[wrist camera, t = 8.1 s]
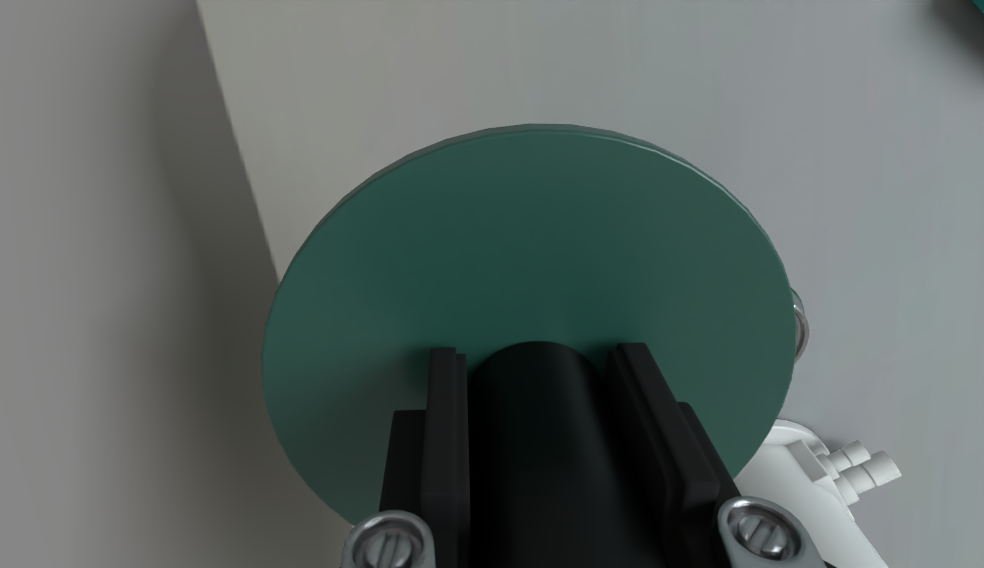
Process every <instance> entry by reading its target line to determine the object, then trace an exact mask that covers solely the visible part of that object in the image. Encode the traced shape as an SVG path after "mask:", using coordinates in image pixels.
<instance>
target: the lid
mask: <svg viewBox="0 0 984 568" xmlns="http://www.w3.org/2000/svg"><path fill="white" fill-rule="evenodd" d="M796 339H797V321H796V314H795V307H794V301H793V294H792V290H791V287H790V284H789V281H788V278H787V275H786V272H785V269H784V265H783V263H782V261H781V259H780V257H779V255H778V253H777V251H776V250H775V248H774V246H773V244H772V242H771V240H770V238H769V236H768V235H767V233H766V232H765V231H764V230H763V228H762V227H761V226H760V224H759V223H758V222H757V220H756V219H755V218H754V216H753V215H752V214H751V213H750V211H749V210H748V209H747V208H746V207H745V206H744V205H743V204H742V203H741V202H740V201H739V200H738V199H736V198H735V197H734V196H733V195H732V194H731V193H730V192H729V191H728V190H727V189H726V188H725V187H724V186H723V185H721V184H720V183H719V182H717V181H716V180H714V179H713V178H712V177H710V176H709V175H707V174H706V173H704V172H703V171H701V170H700V169H698V168H697V167H695V166H694V165H692V164H691V163H689V162H688V161H686V160H685V159H683V158H682V157H679V156H677V155H675V154H673V153H671V152H669V151H667V150H665V149H662V148H660V147H658V146H656V145H654V144H652V143H650V142H647V141H644V140H640V139H637V138H634V137H630V136H627V135H624V134H621V133H617V132H614V131H610V130H604V129H597V128H591V127H584V126H578V125H571V124H522V125H514V126H505V127H496V128H488V129H484V130H480V131H476V132H472V133H468V134H464V135H460V136H456V137H452V138H448V139H445V140H443V141H440V142H438V143H435V144H433V145H430V146H428V147H425V148H423V149H420V150H418V151H415V152H413V153H410V154H408V155H406V156H404V157H403V158H401V159H399V160H397V161H396V162H394V163H392V164H390V165H389V166H387V167H385V168H383V169H382V170H380V171H378V172H376V173H375V174H373V175H372V176H370V177H369V178H368V179H366V180H365V181H364V182H363V183H361V184H360V185H359V186H357V187H356V188H355V189H353V190H352V191H351V192H350V193H348V194H347V195H346V196H344V197H343V198H342V199H341V200H340V201H339V202H338V203H337V204H336V205H335V206H334V207H333V208H332V209H331V210H330V211H329V212H328V213H327V214H326V216H325V217H324V218H323V219H322V220H321V221H320V222H319V223H318V224H317V225H316V226H315V228H314V229H313V231H312V232H311V233H310V235H309V236H308V238H307V239H306V240H305V242H304V243H303V245H302V246H301V247H300V249H299V250H298V251H297V253H296V255H295V256H294V258H293V260H292V261H291V263H290V265H289V267H288V269H287V271H286V273H285V275H284V277H283V279H282V281H281V283H280V285H279V287H278V289H277V291H276V293H275V296H274V299H273V302H272V306H271V308H270V312H269V315H268V318H267V321H266V325H265V333H264V339H263V346H262V353H261V359H262V360H261V361H262V385H263V391H264V396H265V401H266V407H267V412H268V415H269V418H270V421H271V424H272V426H273V429H274V432H275V435H276V437H277V440H278V442H279V444H280V445H281V447H282V449H283V451H284V453H285V455H286V456H287V458H288V460H289V462H290V464H291V465H292V466H293V468H294V469H295V470H296V472H297V473H298V474H299V476H300V477H301V478H302V480H303V481H304V482H305V484H306V485H307V486H308V487H309V488H310V489H311V490H312V491H313V492H314V493H315V494H316V495H317V496H318V497H319V498H320V499H321V500H322V501H323V502H324V503H325V504H326V505H327V506H328V507H329V508H331V509H332V510H333V511H334V512H336V513H337V514H338V515H339V516H341V517H342V518H343V519H345V520H346V521H347V522H348V523H350V524H352V525H353V526H356V525H357V524H359V523H360V522H361V521H362V520H363V519H365V518H367V517H369V516H371V515H373V514H375V513H378V512H379V506H380V499H381V492H382V485H383V479H384V472H385V465H386V458H387V452H388V445H389V438H390V432H391V425H392V418H393V413H394V411H395V410H426V407H427V393H428V379H429V365H430V351H431V348H441V347H456V354H466V366H467V403H468V440H469V477H470V530H471V550H470V555H469V568H670V567H669V564H668V561H667V559H666V556H665V553H664V551H663V548H662V545H661V542H660V540H659V537H658V534H657V532H656V529H655V526H654V523H653V521H652V518H651V515H650V513H649V510H648V507H647V504H646V502H645V499H644V496H643V494H642V491H641V488H640V486H639V483H638V480H637V477H636V475H635V472H634V469H633V467H632V464H631V461H630V458H629V456H628V453H627V450H626V448H625V445H624V442H623V439H622V437H621V434H620V431H619V429H618V426H617V423H616V421H615V418H614V415H613V412H612V410H611V407H610V404H609V402H608V399H607V396H606V393H605V391H604V388H603V387H604V379H605V371H606V362H607V355H608V351H609V350H616V347H617V344H618V343H640V342H643V343H645V344H646V345H647V347H648V348H649V350H650V352H651V354H652V356H653V358H654V360H655V362H656V363H657V365H658V367H659V369H660V371H661V373H662V375H663V377H664V378H665V380H666V382H667V384H668V386H669V388H670V390H671V392H672V393H673V395H674V397H675V399H676V401H677V402H687V403H689V404H690V406H691V407H692V408H693V410H694V412H695V413H696V415H697V417H698V419H699V421H700V422H701V424H702V426H703V428H704V429H705V431H706V433H707V435H708V437H709V438H710V440H711V442H712V444H713V445H714V447H715V449H716V451H717V453H718V454H719V456H720V458H721V460H722V461H723V463H724V465H725V467H726V469H727V470H728V472H729V474H730V476H731V477H732V479H734V478H736V476H737V475H738V474H739V473H740V472H741V471H742V469H743V468H744V467H745V466H746V465H747V464H748V462H749V461H750V460H751V459H752V458H753V456H754V455H755V454H756V452H757V451H758V449H759V448H760V446H761V445H762V443H763V442H764V440H765V439H766V437H767V436H768V434H769V433H770V431H771V429H772V427H773V425H774V423H775V421H776V419H777V417H778V415H779V413H780V411H781V408H782V406H783V403H784V400H785V397H786V394H787V391H788V388H789V385H790V382H791V379H792V373H793V368H794V362H795V356H796Z"/></svg>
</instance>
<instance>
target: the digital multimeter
mask: <svg viewBox="0 0 984 568" xmlns="http://www.w3.org/2000/svg"><path fill="white" fill-rule="evenodd" d="M972 1H973V2H974V3H975V4H976V6H977V7H978V8H979V9H980V10H981V12H982V13H983V14H984V0H972Z"/></svg>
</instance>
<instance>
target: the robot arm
mask: <svg viewBox="0 0 984 568" xmlns="http://www.w3.org/2000/svg"><path fill="white" fill-rule="evenodd" d="M603 388H604V391H605V393H606V396H607V399H608V402H609V404H610V407H611V410H612V412H613V415H614V418H615V421H616V423H617V426H618V429H619V431H620V434H621V437H622V439H623V442H624V445H625V448H626V450H627V453H628V456H629V458H630V461H631V464H632V467H633V469H634V472H635V475H636V477H637V480H638V483H639V486H640V488H641V491H642V494H643V496H644V499H645V502H646V504H647V507H648V510H649V513H650V515H651V518H652V521H653V523H654V526H655V529H656V532H657V534H658V537H659V540H660V542H661V545H662V548H663V551H664V553H665V556H666V559H667V561H668V564H669V567H670V568H888V566H887V565H886V564H885V562H884V561H883V560H882V558H881V557H880V556H879V554H878V553H877V552H876V550H875V549H874V548H873V546H872V545H871V544H870V542H869V541H868V540H867V538H866V537H865V536H864V534H863V533H862V532H861V530H860V529H859V528H858V526H857V525H856V524H855V522H854V518H853V516H852V514H851V512H850V511H849V509H848V507H847V506H849V505H850V504H852V503H855V502H857V501H859V498H858V496H857V495H858V494H860V493H862V492H865V491H867V490H869V489H871V488H873V487H878V486H881V485H883V484H885V483H887V482H889V481H892V480H894V479H896V478H898V477H900V476H901V473H900V471H899V470H898V468H897V466H896V465H895V464H894V462H893V461H892V460H891V459H890V457H889V456H888V455H887V454H886V453H885V452H884V451H879V452H877V453H875V454H873V455H871V456H870V455H869V453H868V452H867V450H866V449H865V447H864V446H863V445H862V444H861V443H860V442H859V441H858V440H856V441H854V442H852V443H850V444H848V445H846V446H843V447H841V448H840V450H837V451H835V452H833V453H831V454H830V452H829V450H828V449H827V448H826V446H825V445H824V444H823V443H822V441H821V440H820V439H819V438H818V437H817V436H816V435H815V434H814V433H813V432H812V431H811V430H809V429H807V428H805V427H803V426H802V425H800V424H797V423H794V422H790V421H787V420H782V419H776V421H775V423H774V425H773V427H772V429H771V431H770V433H769V434H768V436H767V437H766V439H765V440H764V442H763V443H762V445H761V446H760V448H759V449H758V451H757V452H756V454H755V455H754V456H753V458H752V459H751V460H750V461H749V462H748V464H747V465H746V466H745V467H744V468H743V469H742V471H741V472H740V473H739V474H738V475H737V476H736V478H734V479H732V477H731V476H730V474H729V472H728V470H727V469H726V467H725V465H724V463H723V461H722V460H721V458H720V456H719V454H718V453H717V451H716V449H715V447H714V445H713V444H712V442H711V440H710V438H709V437H708V435H707V433H706V431H705V429H704V428H703V426H702V424H701V422H700V421H699V419H698V417H697V415H696V413H695V412H694V410H693V408H692V407H691V406H690V404H689V403H687V402H677V401H676V399H675V397H674V395H673V393H672V392H671V390H670V388H669V386H668V384H667V382H666V380H665V378H664V377H663V375H662V373H661V371H660V369H659V367H658V365H657V363H656V362H655V360H654V358H653V356H652V354H651V352H650V350H649V348H648V347H647V345H646V344H645V343H643V342H640V343H618V344H617V347H616V350H609V351H608V355H607V362H606V371H605V379H604V387H603ZM470 550H471V530H470V477H469V440H468V403H467V366H466V354H456V347H441V348H431V351H430V365H429V379H428V393H427V407H426V410H395V411H394V413H393V418H392V425H391V432H390V438H389V445H388V452H387V458H386V465H385V472H384V479H383V485H382V492H381V499H380V506H379V512H378V513H375V514H373V515H371V516H369V517H367V518H365V519H363V520H362V521H361V522H360V523H359V524H357V525H356V526H355V527H354V528H353V529H352V530H351V532H350V533H349V535H348V537H347V538H346V540H345V543H344V547H343V550H342V557H341V567H340V568H469V555H470Z"/></svg>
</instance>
